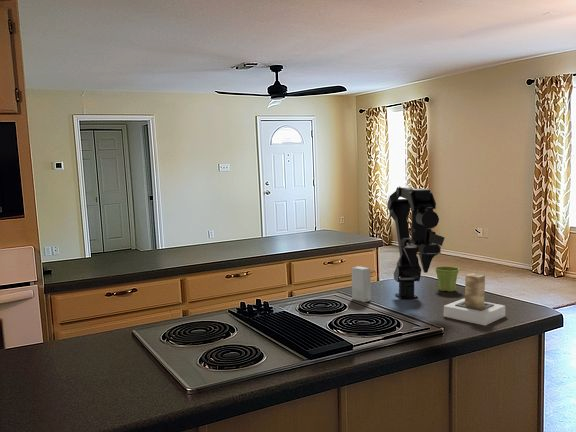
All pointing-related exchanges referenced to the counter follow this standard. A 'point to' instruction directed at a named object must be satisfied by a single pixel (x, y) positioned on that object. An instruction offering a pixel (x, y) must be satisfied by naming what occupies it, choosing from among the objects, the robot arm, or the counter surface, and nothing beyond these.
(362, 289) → the skincare box
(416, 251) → the robot arm
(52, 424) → the counter surface
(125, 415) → the counter surface
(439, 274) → the plant pot
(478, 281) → the peg
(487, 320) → the socket block
